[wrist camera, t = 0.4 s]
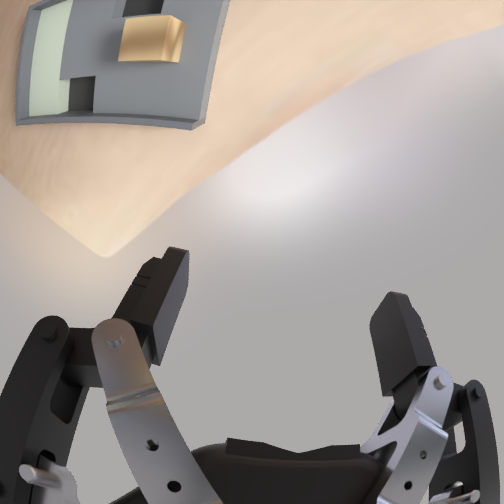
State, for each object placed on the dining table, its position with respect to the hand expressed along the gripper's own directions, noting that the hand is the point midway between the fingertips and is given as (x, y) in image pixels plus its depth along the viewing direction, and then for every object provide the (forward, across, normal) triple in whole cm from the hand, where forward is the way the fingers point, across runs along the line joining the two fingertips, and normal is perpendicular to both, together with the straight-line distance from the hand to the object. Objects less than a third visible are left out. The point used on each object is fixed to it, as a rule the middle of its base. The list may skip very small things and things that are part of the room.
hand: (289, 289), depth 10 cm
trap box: (+26, +25, -10) cm, 38 cm away
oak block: (+23, +16, -10) cm, 30 cm away
